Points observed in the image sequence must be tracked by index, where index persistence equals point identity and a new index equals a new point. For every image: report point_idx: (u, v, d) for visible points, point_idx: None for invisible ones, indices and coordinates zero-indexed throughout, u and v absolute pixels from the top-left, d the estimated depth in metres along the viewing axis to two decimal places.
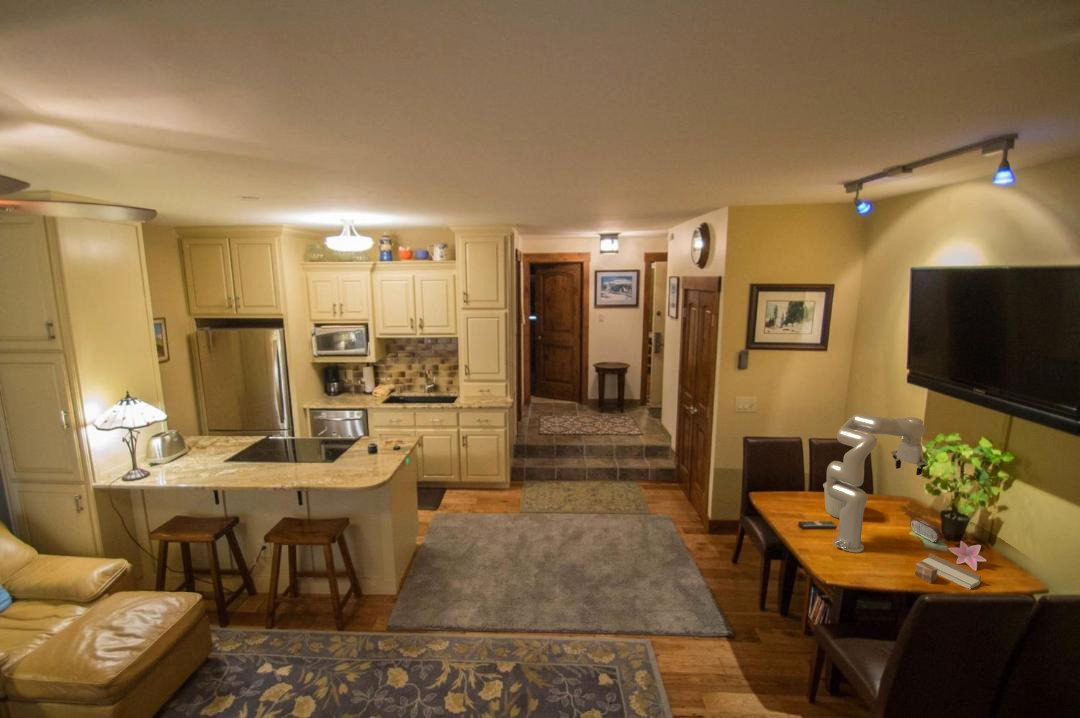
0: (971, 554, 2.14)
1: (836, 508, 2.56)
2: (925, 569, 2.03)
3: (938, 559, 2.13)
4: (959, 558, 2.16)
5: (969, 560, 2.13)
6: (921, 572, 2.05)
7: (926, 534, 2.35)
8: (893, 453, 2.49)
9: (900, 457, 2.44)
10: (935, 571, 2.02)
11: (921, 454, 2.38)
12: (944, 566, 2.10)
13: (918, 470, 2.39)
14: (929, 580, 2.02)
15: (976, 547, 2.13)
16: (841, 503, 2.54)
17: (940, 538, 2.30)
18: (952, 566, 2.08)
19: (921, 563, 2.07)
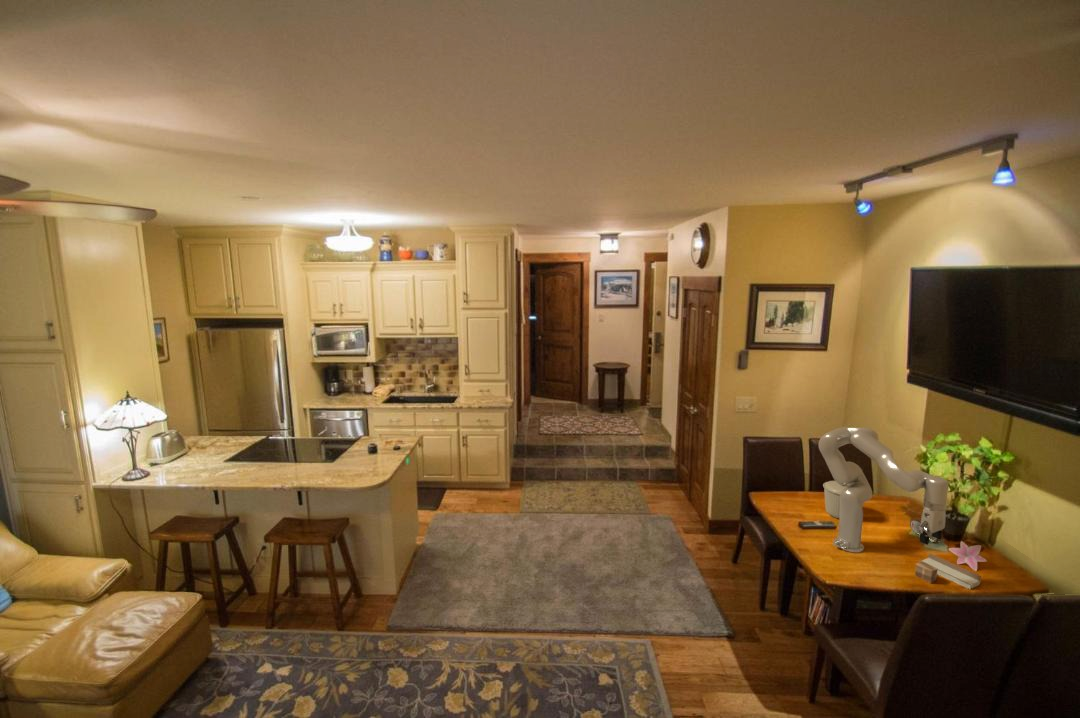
0: (971, 555, 2.14)
1: (836, 508, 2.56)
2: (925, 569, 2.03)
3: (938, 559, 2.13)
4: (959, 558, 2.15)
5: (970, 561, 2.13)
6: (921, 572, 2.05)
7: None
8: (923, 529, 1.98)
9: (935, 529, 1.98)
10: (935, 571, 2.02)
11: None
12: (944, 566, 2.10)
13: None
14: (929, 580, 2.02)
15: (976, 547, 2.13)
16: None
17: None
18: (952, 566, 2.08)
19: (921, 563, 2.07)
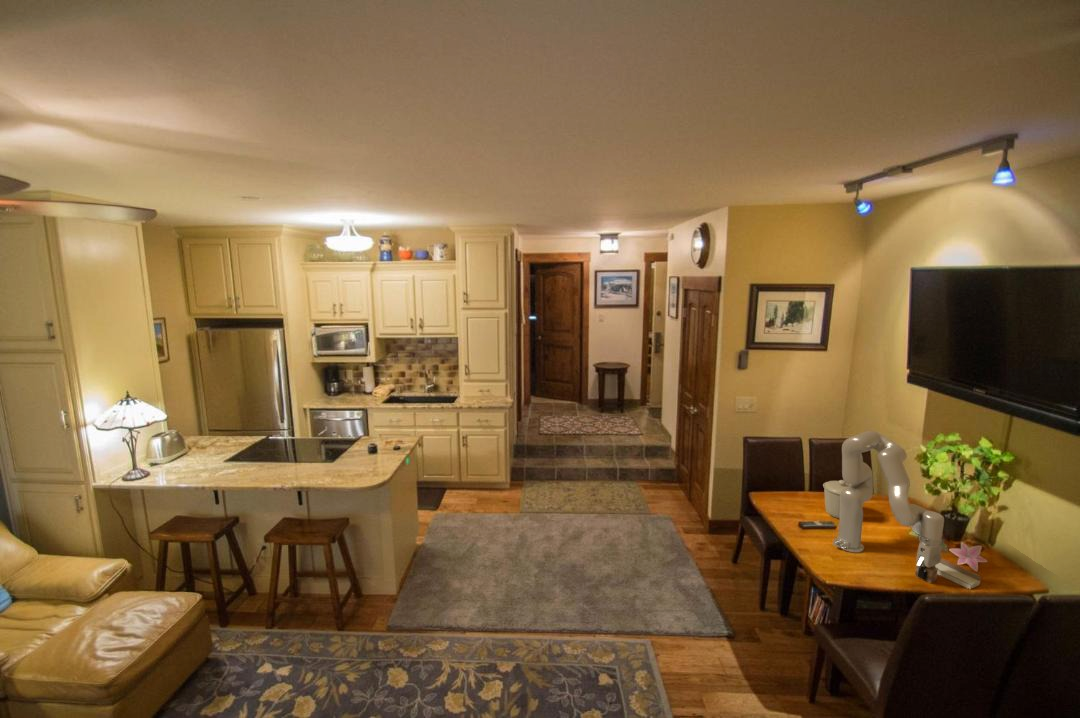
0: (972, 555, 2.14)
1: (836, 508, 2.56)
2: None
3: None
4: (960, 559, 2.15)
5: (970, 561, 2.12)
6: None
7: None
8: (921, 566, 2.01)
9: (931, 564, 2.00)
10: (935, 571, 2.02)
11: None
12: (944, 566, 2.10)
13: None
14: (929, 580, 2.02)
15: (977, 548, 2.12)
16: None
17: None
18: (952, 566, 2.08)
19: None
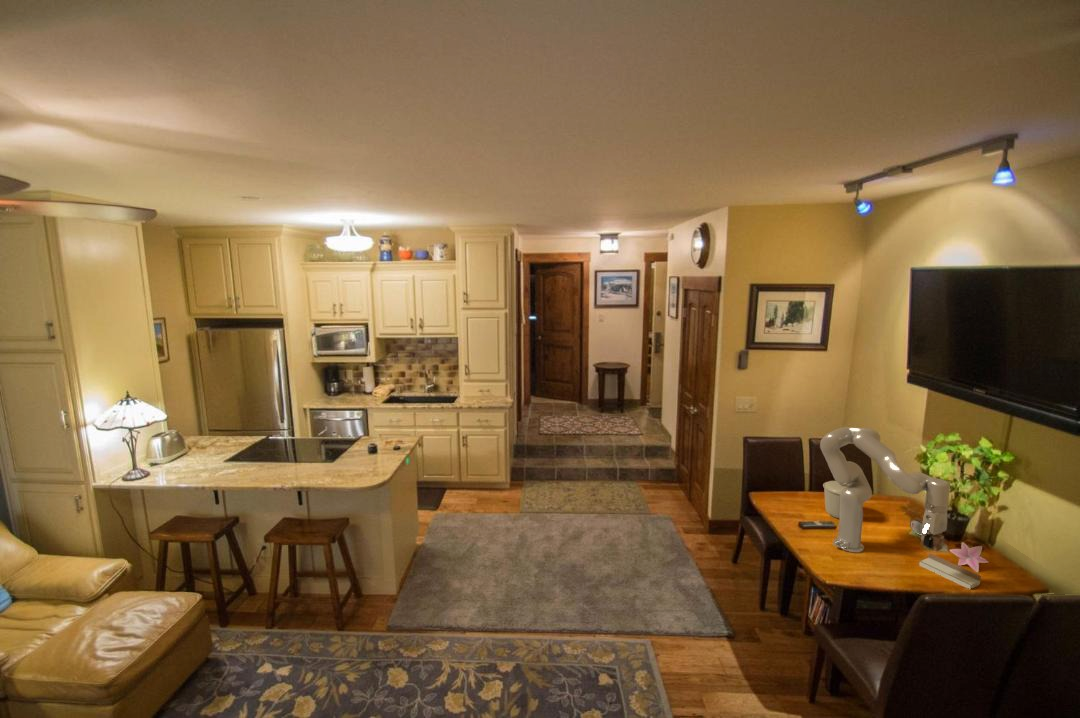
0: (972, 556, 2.13)
1: (836, 508, 2.56)
2: None
3: (938, 559, 2.13)
4: (961, 560, 2.14)
5: (971, 562, 2.12)
6: None
7: None
8: (926, 533, 1.99)
9: (937, 532, 1.98)
10: (941, 539, 2.00)
11: None
12: (944, 566, 2.10)
13: None
14: (935, 548, 2.00)
15: (977, 548, 2.12)
16: None
17: None
18: (952, 566, 2.08)
19: None
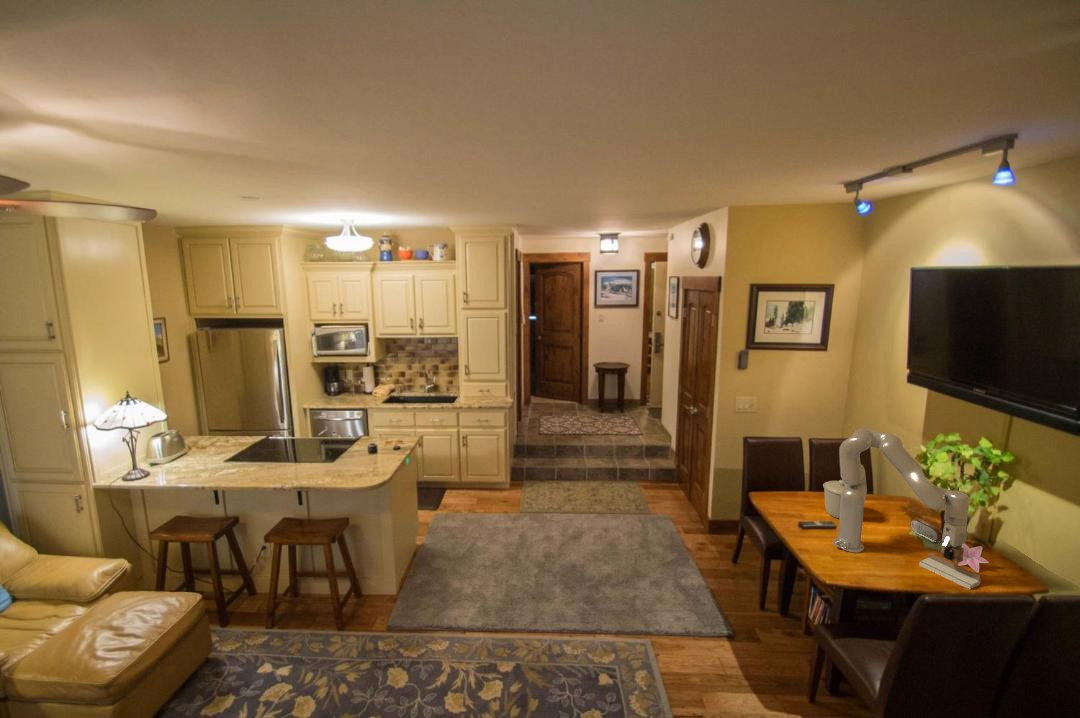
0: (972, 556, 2.13)
1: (836, 508, 2.56)
2: None
3: (938, 559, 2.13)
4: None
5: (971, 562, 2.11)
6: None
7: (926, 534, 2.35)
8: (947, 546, 2.02)
9: (957, 544, 2.01)
10: (961, 551, 2.02)
11: None
12: (944, 566, 2.10)
13: None
14: (956, 560, 2.02)
15: (978, 549, 2.12)
16: None
17: (940, 538, 2.30)
18: (952, 566, 2.08)
19: None
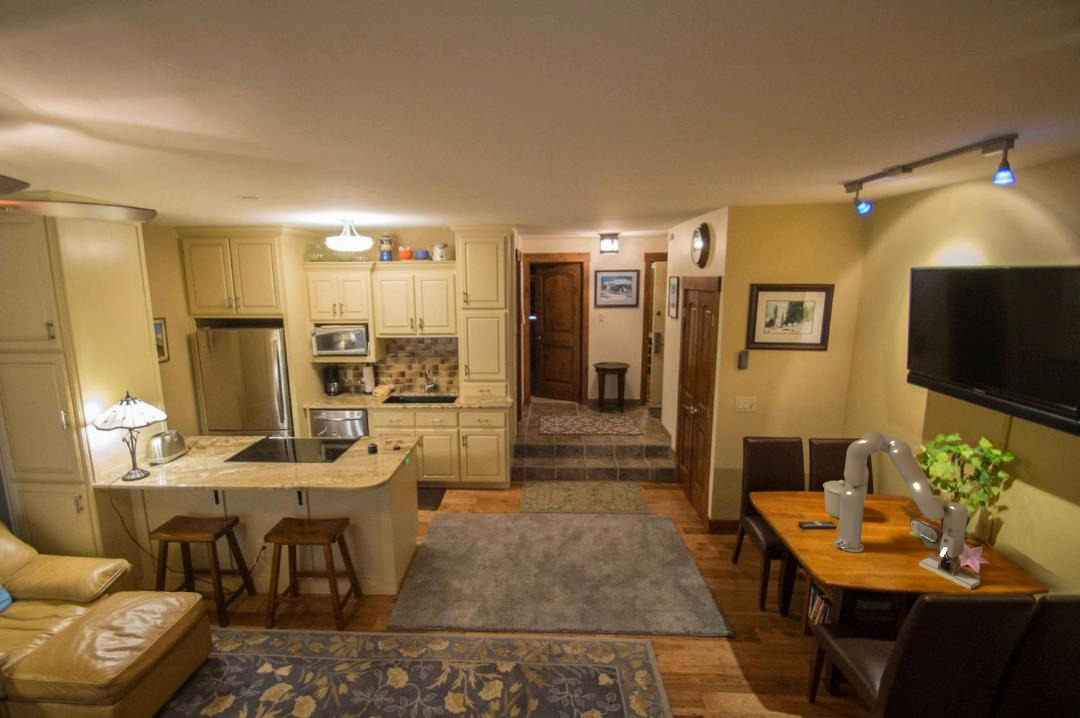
0: (973, 556, 2.13)
1: (836, 508, 2.56)
2: None
3: (938, 559, 2.13)
4: (961, 560, 2.14)
5: (972, 563, 2.11)
6: None
7: (926, 534, 2.35)
8: (944, 556, 2.03)
9: (954, 555, 2.02)
10: (958, 564, 2.04)
11: None
12: None
13: None
14: (952, 572, 2.04)
15: (978, 549, 2.12)
16: None
17: (940, 538, 2.30)
18: None
19: None
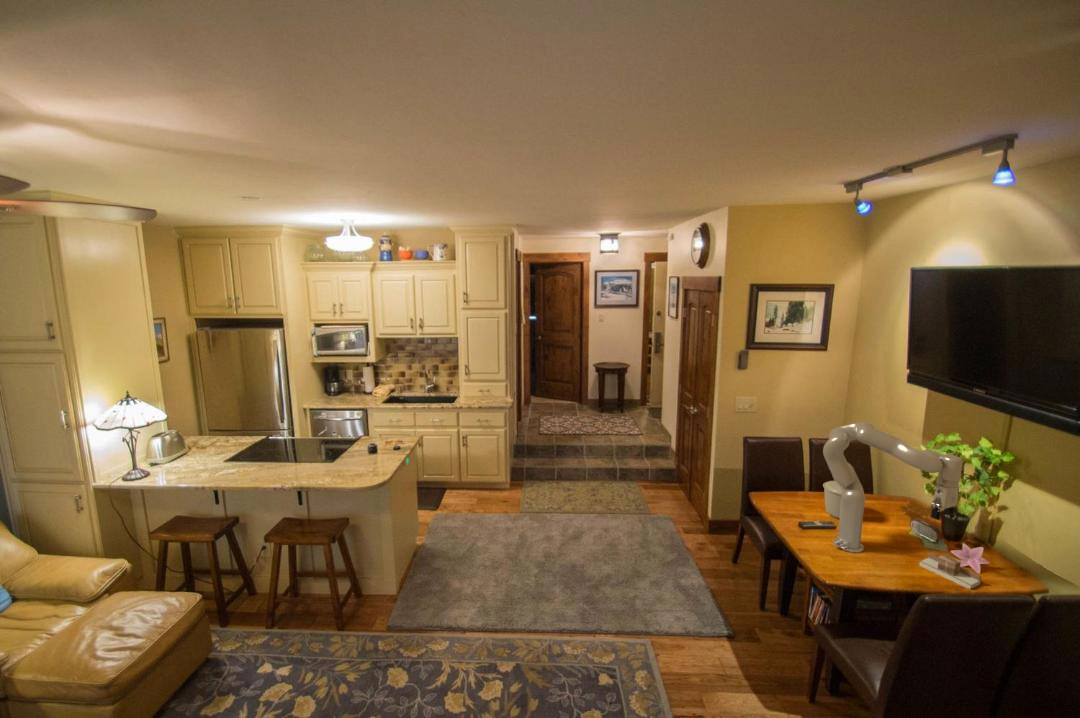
0: (973, 557, 2.12)
1: (836, 508, 2.56)
2: (948, 562, 2.05)
3: (938, 559, 2.13)
4: (962, 561, 2.13)
5: (972, 563, 2.11)
6: (944, 564, 2.06)
7: (926, 534, 2.35)
8: (935, 504, 2.06)
9: (947, 505, 2.05)
10: (958, 564, 2.04)
11: None
12: None
13: None
14: (952, 572, 2.04)
15: (979, 549, 2.11)
16: None
17: (940, 538, 2.30)
18: None
19: (944, 556, 2.08)
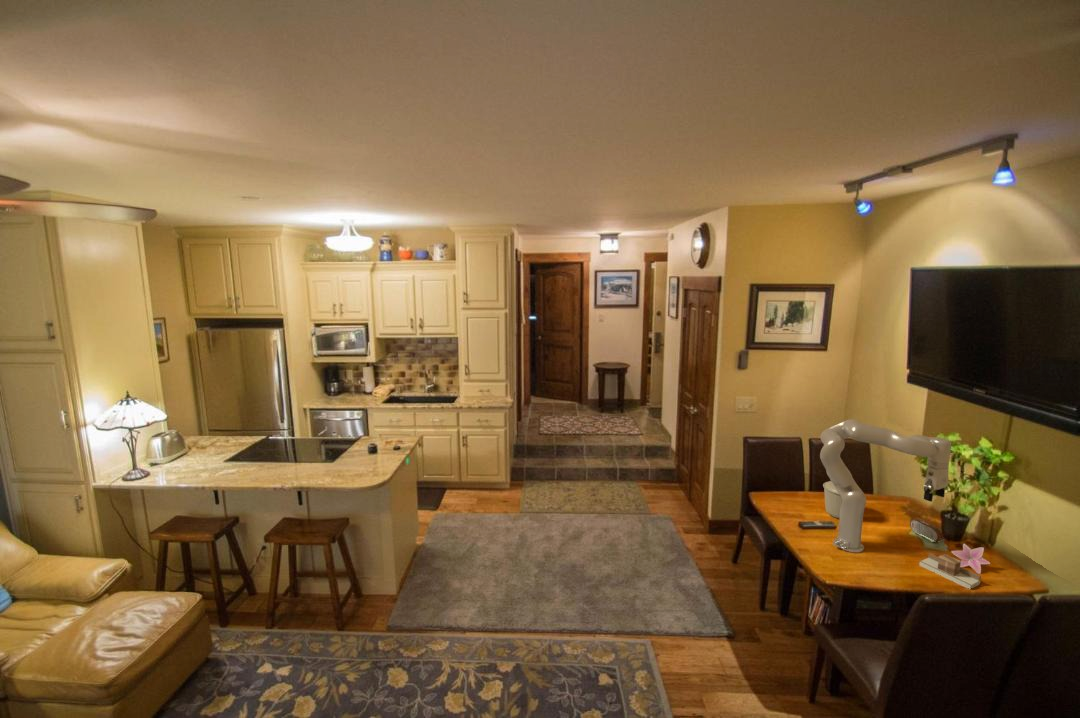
0: (974, 557, 2.12)
1: (836, 508, 2.56)
2: (948, 562, 2.05)
3: (938, 559, 2.13)
4: (962, 561, 2.13)
5: (973, 563, 2.11)
6: (944, 564, 2.06)
7: (926, 534, 2.35)
8: (927, 486, 2.12)
9: (939, 487, 2.11)
10: (958, 564, 2.04)
11: None
12: None
13: None
14: (952, 572, 2.04)
15: (979, 550, 2.11)
16: (841, 503, 2.54)
17: (940, 538, 2.30)
18: None
19: (944, 556, 2.08)
